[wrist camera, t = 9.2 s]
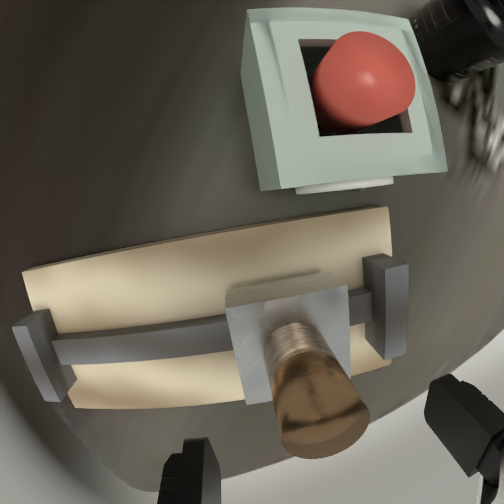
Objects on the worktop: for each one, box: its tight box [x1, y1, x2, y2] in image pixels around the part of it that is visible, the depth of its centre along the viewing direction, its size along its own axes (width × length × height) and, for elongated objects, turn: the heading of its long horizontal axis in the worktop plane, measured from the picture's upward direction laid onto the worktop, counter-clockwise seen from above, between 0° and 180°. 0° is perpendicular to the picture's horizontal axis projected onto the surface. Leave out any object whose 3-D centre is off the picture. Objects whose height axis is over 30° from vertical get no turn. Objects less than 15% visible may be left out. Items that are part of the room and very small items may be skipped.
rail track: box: [12, 205, 409, 409], centre depth 18 cm, size 12×26×5 cm, turn 99°
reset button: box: [308, 31, 416, 134], centre depth 11 cm, size 4×4×4 cm
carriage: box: [225, 271, 370, 459], centre depth 14 cm, size 6×6×10 cm
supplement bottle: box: [409, 0, 504, 82], centre depth 11 cm, size 7×7×12 cm
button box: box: [240, 8, 448, 194], centre depth 14 cm, size 8×8×8 cm
